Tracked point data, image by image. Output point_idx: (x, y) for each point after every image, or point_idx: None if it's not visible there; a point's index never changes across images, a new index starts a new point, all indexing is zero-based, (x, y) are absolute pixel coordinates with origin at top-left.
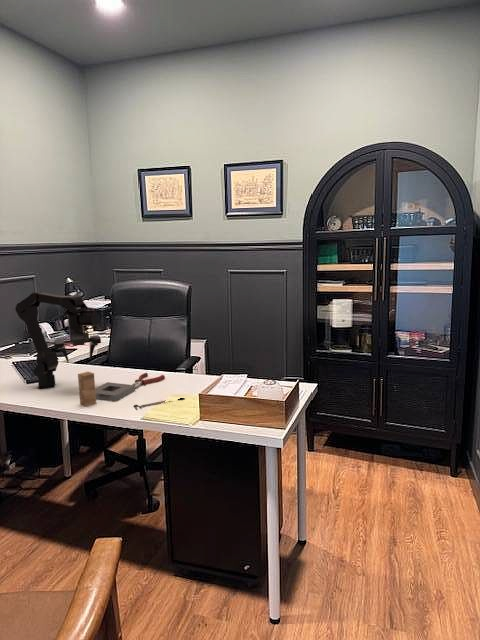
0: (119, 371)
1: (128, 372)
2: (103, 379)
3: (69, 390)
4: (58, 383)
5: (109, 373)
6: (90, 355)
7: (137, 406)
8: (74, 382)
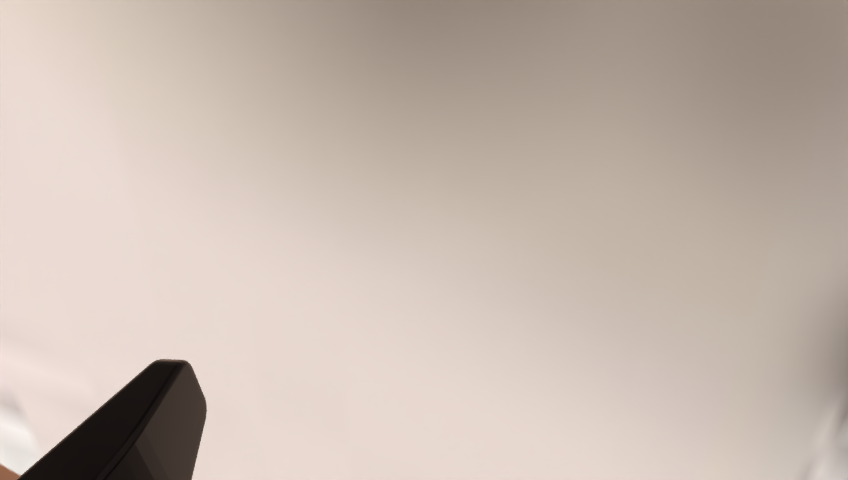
0: None
1: (18, 407)
2: (256, 315)
3: (749, 59)
4: (804, 397)
5: (216, 454)
6: (83, 476)
7: None
8: (608, 355)
